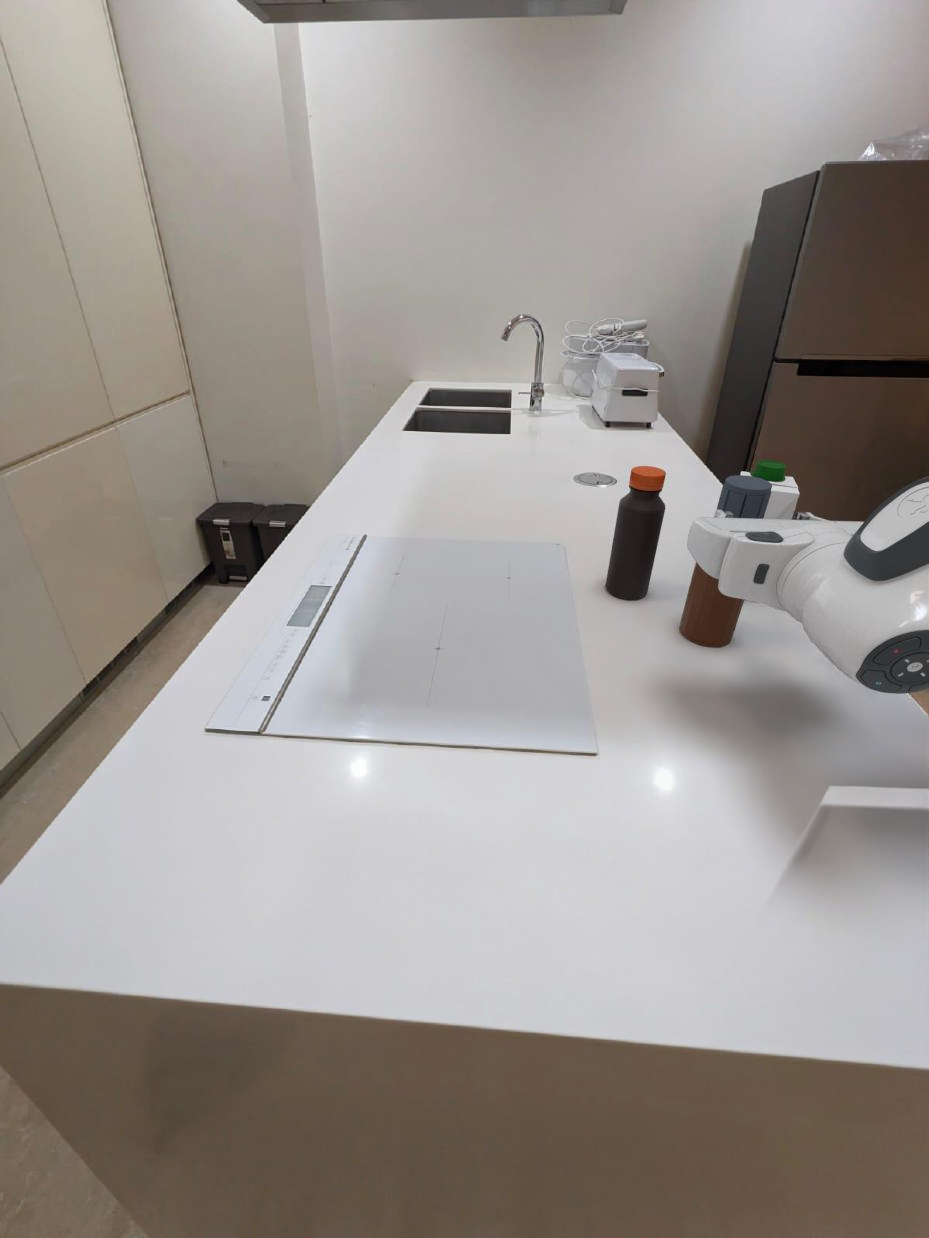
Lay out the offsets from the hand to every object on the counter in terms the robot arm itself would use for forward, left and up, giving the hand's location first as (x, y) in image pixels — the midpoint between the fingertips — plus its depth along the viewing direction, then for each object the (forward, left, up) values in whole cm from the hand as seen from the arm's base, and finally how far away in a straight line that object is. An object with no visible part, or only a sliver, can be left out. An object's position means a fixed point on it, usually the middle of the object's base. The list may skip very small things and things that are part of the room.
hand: (759, 516), depth 69 cm
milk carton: (-19, -13, -21) cm, 31 cm away
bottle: (-3, -5, -20) cm, 21 cm away
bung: (-3, -5, -6) cm, 8 cm away
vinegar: (-1, -20, -21) cm, 28 cm away
